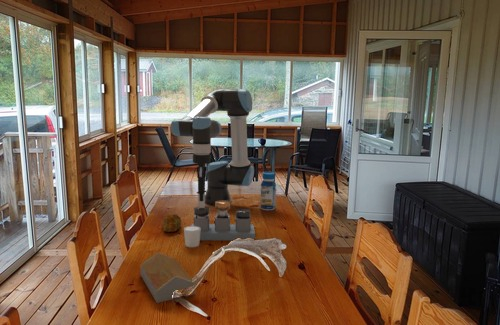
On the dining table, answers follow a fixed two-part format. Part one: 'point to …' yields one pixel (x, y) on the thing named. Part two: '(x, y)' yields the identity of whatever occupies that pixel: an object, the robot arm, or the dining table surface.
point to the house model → (164, 277)
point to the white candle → (192, 236)
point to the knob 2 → (243, 213)
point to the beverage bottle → (268, 191)
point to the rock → (171, 223)
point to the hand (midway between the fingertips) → (201, 207)
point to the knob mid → (222, 208)
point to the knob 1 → (201, 212)
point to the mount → (224, 228)
